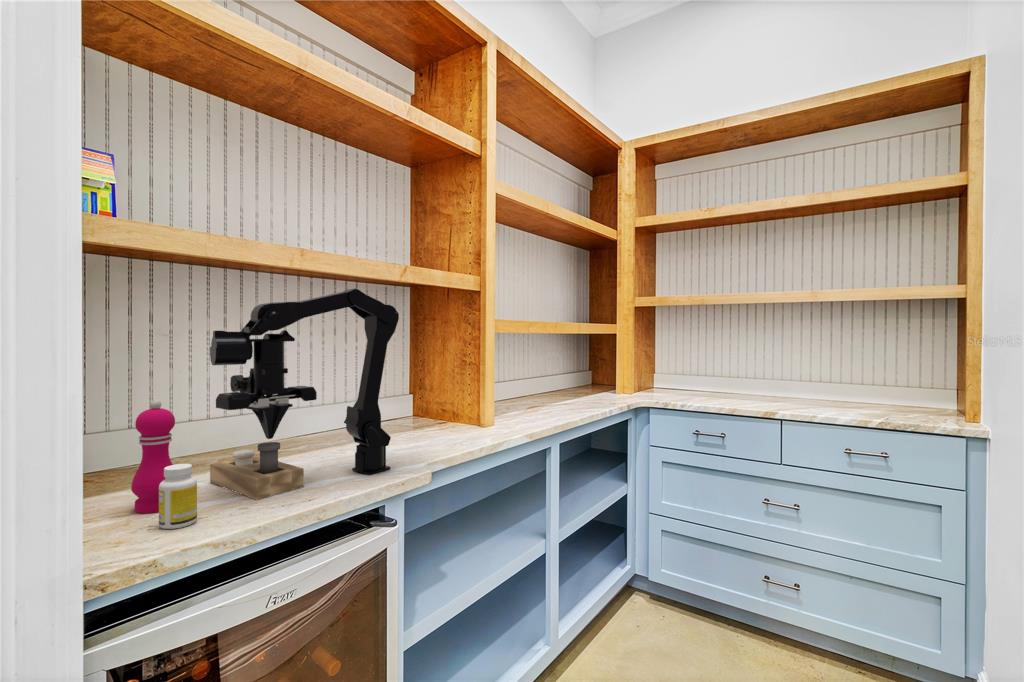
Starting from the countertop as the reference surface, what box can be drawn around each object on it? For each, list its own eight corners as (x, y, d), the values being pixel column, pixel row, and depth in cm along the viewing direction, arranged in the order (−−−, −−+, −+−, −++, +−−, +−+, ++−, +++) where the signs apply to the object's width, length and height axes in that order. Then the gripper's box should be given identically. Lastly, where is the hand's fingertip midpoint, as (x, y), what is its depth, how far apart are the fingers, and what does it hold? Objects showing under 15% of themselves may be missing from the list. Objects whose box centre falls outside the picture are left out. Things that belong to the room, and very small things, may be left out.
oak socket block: (255, 472, 116) (255, 455, 116) (303, 487, 105) (303, 468, 105) (210, 482, 108) (210, 464, 107) (256, 500, 97) (256, 479, 97)
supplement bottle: (204, 518, 87) (204, 462, 87) (182, 530, 82) (182, 471, 82) (174, 517, 87) (174, 462, 87) (150, 529, 82) (150, 470, 82)
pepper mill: (183, 507, 92) (182, 400, 92) (134, 517, 87) (134, 403, 87) (174, 498, 97) (174, 396, 97) (128, 507, 92) (128, 399, 92)
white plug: (248, 474, 112) (248, 448, 112) (258, 477, 110) (258, 451, 109) (229, 478, 109) (229, 451, 108) (239, 481, 106) (239, 454, 106)
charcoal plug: (273, 468, 106) (273, 441, 106) (284, 471, 104) (284, 443, 104) (253, 472, 103) (253, 444, 103) (264, 476, 100) (264, 447, 100)
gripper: (289, 360, 115) (289, 427, 116) (202, 364, 100) (202, 441, 100) (318, 362, 109) (318, 432, 109) (229, 366, 94) (230, 449, 94)
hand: (269, 438), depth 103 cm, fingers closed
